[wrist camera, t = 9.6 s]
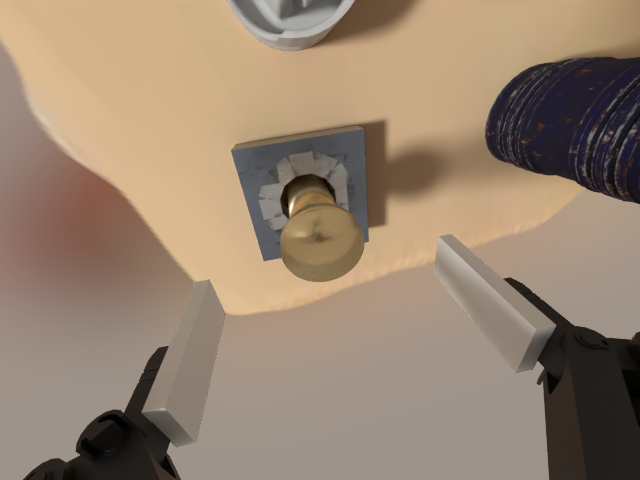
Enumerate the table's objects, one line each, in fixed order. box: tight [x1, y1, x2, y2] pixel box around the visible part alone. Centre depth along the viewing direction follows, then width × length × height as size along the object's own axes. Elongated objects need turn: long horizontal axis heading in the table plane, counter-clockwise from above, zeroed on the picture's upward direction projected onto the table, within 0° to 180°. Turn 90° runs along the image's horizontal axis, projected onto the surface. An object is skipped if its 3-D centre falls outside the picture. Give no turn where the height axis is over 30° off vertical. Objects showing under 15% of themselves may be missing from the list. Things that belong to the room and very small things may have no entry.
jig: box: [231, 125, 369, 261], centre depth 27 cm, size 12×12×3 cm
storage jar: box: [485, 57, 640, 204], centre depth 21 cm, size 10×10×15 cm
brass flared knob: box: [280, 173, 364, 282], centre depth 24 cm, size 6×6×12 cm
